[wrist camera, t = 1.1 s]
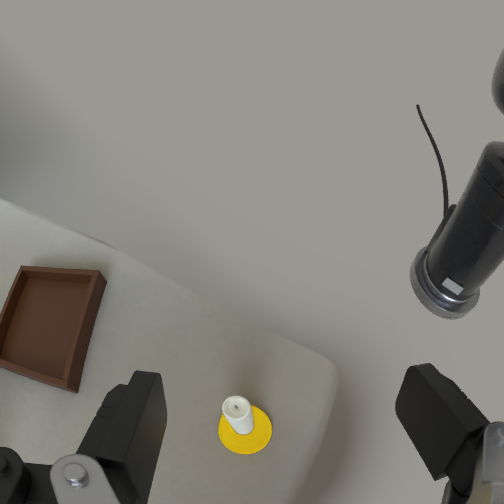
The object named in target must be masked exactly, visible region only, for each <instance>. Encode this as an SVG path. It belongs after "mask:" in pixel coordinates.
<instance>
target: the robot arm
mask: <svg viewBox="0 0 504 504" xmlns="http://www.w3.org/2000/svg"><path fill="white" fill-rule="evenodd" d="M492 96H493V99H494V102H495V104H496V106H497V108H498V109H499V110H500V111H501V113H502V114H504V49H503V50H502V52H501V55H500V56H499V59H498V61H497V63H496V66H495V69H494V73H493V77H492ZM416 106H417V110H418V113H419V116H420V119H421V121H422V123H423V125H424V127H425V130H426V131H427V134H428V136H429V138H430V140H431V143H432V145H433V148H434V150H435V153H436V156H437V159H438V162H439V166H440V171H441V176H442V182H443V194H444V218H443V220H442V222H441V224H440V225H439V227H438V229H437V231H436V232H435V234H434V236H433V238H432V239H431V241H430V243H429V244H428V246H427V248H426V249H425V251H424V253H425V256H426V257H425V259H424V261H423V266H422V269H423V275H424V278H425V281H426V283H427V285H428V286H429V288H430V289H431V290H432V292H433V293H434V294H435V295H436V296H437V297H439V298H440V299H441V300H443V301H445V302H447V303H449V304H453V305H461V304H464V303H466V302H468V301H469V300H470V299H471V298H472V297H473V296H474V294H475V293H476V291H477V290H478V289H479V288H480V287H481V286H482V285H483V284H484V283H485V281H486V280H487V279H488V278H489V277H490V276H491V275H492V274H493V272H494V271H495V270H496V269H497V268H498V266H499V265H500V264H501V263H502V261H503V260H504V142H502V141H492V142H489V143H488V144H487V145H486V146H485V147H484V149H483V151H482V153H481V156H480V158H479V160H478V163H477V165H476V167H475V169H474V171H473V174H472V176H471V178H470V180H469V182H468V184H467V186H466V188H465V190H464V192H463V194H462V196H461V198H460V200H459V202H458V204H457V205H456V204H452V205H451V206H450V207H449V209H448V189H447V180H446V175H445V170H444V166H443V163H442V159H441V156H440V153H439V151H438V148H437V146H436V144H435V141H434V139H433V137H432V135H431V133H430V131H429V129H428V127H427V124H426V122H425V120H424V118H423V116H422V113H421V110H420V107H419V105H416ZM101 405H102V406H101V407H100V408H99V410H98V412H97V414H96V416H95V417H94V419H93V421H92V423H91V425H90V427H89V429H88V431H87V433H86V435H85V436H84V438H83V440H82V442H81V444H80V446H79V448H78V450H77V452H76V453H75V454H70V455H66V456H64V457H62V458H60V459H58V460H57V461H56V462H55V463H54V465H43V464H33V463H24V462H23V461H22V459H21V458H20V456H19V455H18V454H17V453H16V452H15V451H14V450H12V449H10V448H7V447H0V504H147V502H148V498H149V493H150V489H151V485H152V481H153V476H154V472H155V468H156V464H157V460H158V456H159V452H160V448H161V444H162V440H163V437H164V433H165V429H166V424H167V407H166V401H165V396H164V390H163V384H162V378H161V375H160V373H155V372H146V371H137V370H136V371H135V372H134V374H133V376H132V378H131V380H130V382H129V384H128V385H123V384H119V385H117V386H116V387H115V388H113V389H112V390H111V391H110V392H108V393H107V395H106V397H105V399H104V401H103V402H102V404H101ZM395 410H396V415H397V417H398V418H399V420H400V422H401V423H402V425H403V427H404V429H405V430H406V432H407V434H408V435H409V437H410V439H411V440H412V442H413V444H414V446H415V447H416V449H417V451H418V452H419V454H420V456H421V458H422V459H423V461H424V463H425V465H426V466H427V468H428V470H429V472H430V473H431V475H432V477H433V479H434V480H435V481H436V480H439V479H441V478H444V477H446V476H448V477H449V479H450V480H449V481H448V482H447V484H446V486H445V490H444V495H443V499H442V503H441V504H504V422H493V423H490V422H489V421H488V420H487V418H486V417H485V416H484V415H483V414H482V413H481V412H480V410H479V409H478V408H477V407H476V406H475V405H474V404H473V402H471V400H470V399H467V396H466V395H465V394H464V392H463V391H462V392H461V389H459V387H458V386H457V385H456V384H455V383H454V382H453V381H452V380H450V379H449V378H447V377H445V376H444V375H442V374H440V373H439V371H438V370H437V369H436V368H435V367H434V366H433V365H432V364H430V363H426V364H420V365H414V366H410V367H409V368H408V369H407V371H406V374H405V377H404V380H403V383H402V386H401V388H400V391H399V394H398V397H397V399H396V405H395Z"/></svg>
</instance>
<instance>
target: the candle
mask: <svg viewBox="0 0 504 504" xmlns="http://www.w3.org/2000/svg"><path fill="white" fill-rule="evenodd" d="M222 411H223V414H222V417H221V419H220V422H219V427H218V432H219V437H220V439H221V441H222V443H223V444H224V445H225V446H226V447H227V448H228V449H230V450H231V451H233V452H236V453H239V454H252V453H255V452H257V451H259V450H261V449H262V448H264V447H265V446H266V445H267V443H268V442H269V440H270V438H271V435H272V425H271V422H270V419H269V417H268V416H267V415H266V414H265V413H264V412H263V411H262V410H260V409H259V408H257V407H256V406H253V405H251V404H250V403H249V402H248V400H247V399H245V398H244V397H241V396H231V397H229V398H227V399H226V400H225V401H224V403H223V405H222Z"/></svg>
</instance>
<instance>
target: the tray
mask: <svg viewBox="0 0 504 504" xmlns="http://www.w3.org/2000/svg"><path fill="white" fill-rule="evenodd" d="M106 283H107V281H106V280H105V278H104V277H103V275H102V274H101V272H100V271H99V270H82V269H65V268H49V267H34V266H21V267H20V269H19V271H18V273H17V275H16V278H15V280H14V282H13V284H12V287H11V289H10V291H9V294H8V296H7V299H6V301H5V304H4V306H3V309H2V312H1V314H0V367H2V368H4V369H7V370H9V371H12V372H14V373H17V374H19V375H22V376H25V377H28V378H30V379H33V380H36V381H39V382H42V383H45V384H48V385H51V386H54V387H57V388H61V389H64V390H67V391H71V392H74V393H78V389H79V384H80V379H81V374H82V370H83V365H84V361H85V357H86V352H87V348H88V344H89V340H90V337H91V333H92V329H93V326H94V322H95V318H96V315H97V312H98V308H99V305H100V302H101V298H102V295H103V292H104V289H105V286H106Z"/></svg>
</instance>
